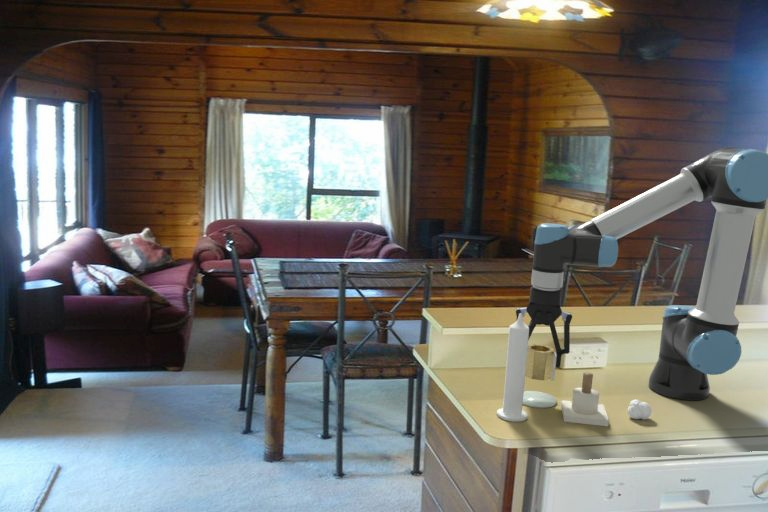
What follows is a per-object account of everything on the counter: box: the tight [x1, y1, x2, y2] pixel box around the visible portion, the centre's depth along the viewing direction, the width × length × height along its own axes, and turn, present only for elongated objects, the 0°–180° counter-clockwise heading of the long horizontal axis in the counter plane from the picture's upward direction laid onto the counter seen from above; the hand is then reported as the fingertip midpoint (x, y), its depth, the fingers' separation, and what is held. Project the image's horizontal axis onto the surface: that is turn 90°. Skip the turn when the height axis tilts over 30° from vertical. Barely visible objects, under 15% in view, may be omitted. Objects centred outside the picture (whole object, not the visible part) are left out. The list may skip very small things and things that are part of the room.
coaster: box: [523, 390, 558, 409], centre depth 185 cm, size 10×10×1 cm
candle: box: [496, 313, 530, 423], centre depth 173 cm, size 7×7×25 cm
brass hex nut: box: [525, 343, 555, 381], centre depth 184 cm, size 7×7×7 cm
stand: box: [560, 371, 610, 427], centre depth 176 cm, size 10×10×10 cm
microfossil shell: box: [627, 399, 652, 421], centre depth 178 cm, size 4×5×6 cm
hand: (537, 377), depth 184 cm, fingers closed on brass hex nut, 7 cm apart
